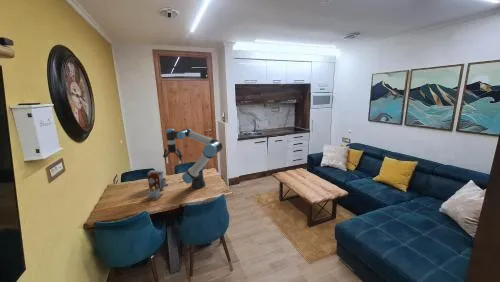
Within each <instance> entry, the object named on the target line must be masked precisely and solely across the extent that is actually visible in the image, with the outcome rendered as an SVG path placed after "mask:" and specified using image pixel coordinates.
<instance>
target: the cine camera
mask: <svg viewBox="0 0 500 282" xmlns="http://www.w3.org/2000/svg"><path fill="white" fill-rule="evenodd" d="M146 175H147V182H148V188H149V190H150V189H151V188H152V187H154V188H159V189H160V191H161V190H163V189H164V188H167V187H168V184H169V183H167V181H166V177H164V172H163V170H153V169H152V170H149V171H148V172H147V174H146Z"/></svg>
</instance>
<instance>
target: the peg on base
mask: <svg viewBox="0 0 500 282" xmlns="http://www.w3.org/2000/svg"><path fill="white" fill-rule="evenodd" d="M152 191H155V188H154V187H152ZM163 195H164V194H163V193H160V195H159V196H158V197H157V198H148V196H147V197H146V198H145V199H144V200H145V201H159V199H161V197H163Z"/></svg>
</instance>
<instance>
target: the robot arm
mask: <svg viewBox="0 0 500 282" xmlns="http://www.w3.org/2000/svg"><path fill="white" fill-rule="evenodd" d="M165 131H166V133H165V134H166V142H167V143H166V144H167V148H165V149H164V152H163V155H162V157H163V158H164V160H165V163H166V164H169V157H168V156H169V154H170V153H173V154H175V155H176V156H177V158H178V164H179V165H180V164H181V161H182V157H183V154H182V152H181V151H180V148H179V147H177V148H176V139H177V140H184V139H185V137H186V138H189V139H192V140H194V141H197V142H199V143H202V144H204V145H205V146H204V147H203V149H202V154H201V155H200V157H199V158H198V159H197V160H196V161H195V163H194V164H193V165H192V166H191V167H189V168H188V169H187V171H186V172H183V174H182V176H181V177H182V178H181V179H182V181H183V182H184V183H185V184H191V185H190V186H191V188H192V189H194V190H195V189H196V190H198V189H203V188H205V186H206V181H205V179H204V171H203V170H204V169H203V168H204V167H205V166H206V164H207V163H208V162H209V161H210V160H211V159H212V160H213V158H214V157H215V156H216V155H217V154H218V153H220V152H221V151H222V150H223V143H222V142H221V141H220V140H219V139H216V138H214V137H213V138H211V137H208V136H206V135H202V134H200V133H198V132H195V131H193V130H192V129H191V128H185V129H181V130H177V131H176V130H175V129H174V128H167V129H166V130H165Z"/></svg>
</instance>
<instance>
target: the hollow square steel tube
mask: <svg viewBox="0 0 500 282" xmlns="http://www.w3.org/2000/svg"><path fill="white" fill-rule="evenodd" d="M160 194H161V190H160V189H159V188H155V191H152V188H151V189H150V188H149V190H147V197H148V198H157V197H158V196H159V195H160Z"/></svg>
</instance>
